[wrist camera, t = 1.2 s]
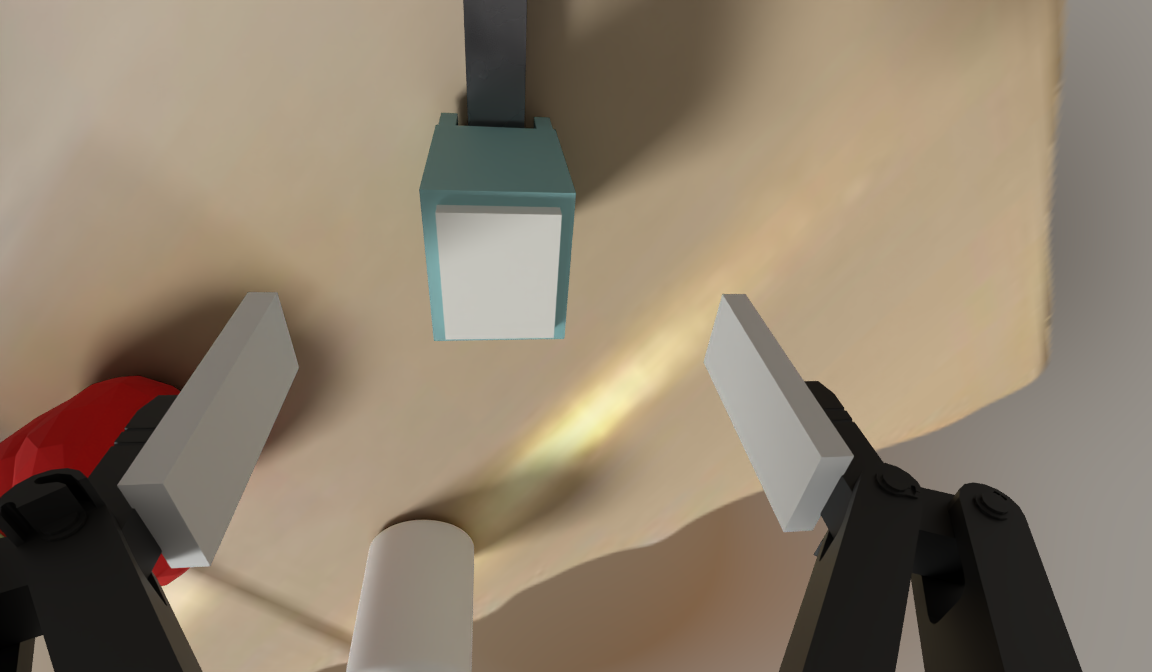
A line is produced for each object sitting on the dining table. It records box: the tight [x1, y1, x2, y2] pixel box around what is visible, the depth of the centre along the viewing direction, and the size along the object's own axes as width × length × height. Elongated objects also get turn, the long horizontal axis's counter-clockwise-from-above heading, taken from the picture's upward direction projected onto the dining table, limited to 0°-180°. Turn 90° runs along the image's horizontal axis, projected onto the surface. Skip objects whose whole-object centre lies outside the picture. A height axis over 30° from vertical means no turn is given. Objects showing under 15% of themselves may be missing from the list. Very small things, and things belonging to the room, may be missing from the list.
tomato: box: [0, 376, 190, 586], centre depth 30 cm, size 11×13×10 cm
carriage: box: [419, 113, 576, 341], centre depth 23 cm, size 5×6×9 cm
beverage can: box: [346, 520, 474, 672], centre depth 40 cm, size 8×8×12 cm
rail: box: [463, 0, 527, 128], centre depth 23 cm, size 2×17×2 cm, turn 176°
